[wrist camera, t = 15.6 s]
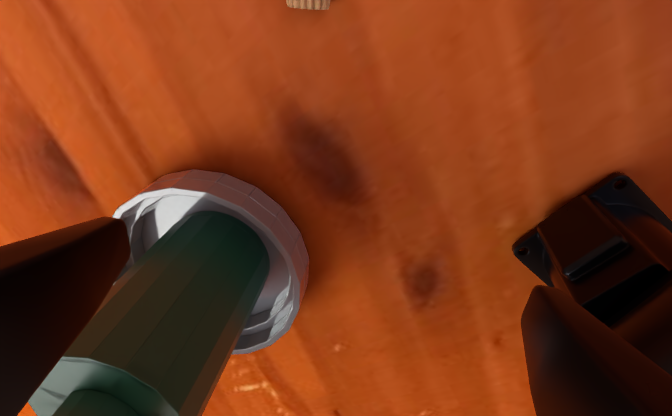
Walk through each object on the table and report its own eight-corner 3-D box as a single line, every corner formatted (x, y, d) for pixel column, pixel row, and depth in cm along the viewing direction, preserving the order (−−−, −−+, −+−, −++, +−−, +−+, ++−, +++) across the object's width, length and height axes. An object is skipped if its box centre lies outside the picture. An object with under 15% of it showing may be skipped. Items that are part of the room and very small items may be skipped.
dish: (349, 253, 24) (342, 285, 22) (245, 346, 29) (229, 380, 27) (187, 125, 22) (157, 142, 19) (105, 250, 27) (73, 277, 24)
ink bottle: (290, 257, 24) (175, 520, 12) (234, 313, 27) (96, 570, 15) (201, 189, 23) (-28, 408, 11) (152, 255, 26) (-71, 486, 14)
